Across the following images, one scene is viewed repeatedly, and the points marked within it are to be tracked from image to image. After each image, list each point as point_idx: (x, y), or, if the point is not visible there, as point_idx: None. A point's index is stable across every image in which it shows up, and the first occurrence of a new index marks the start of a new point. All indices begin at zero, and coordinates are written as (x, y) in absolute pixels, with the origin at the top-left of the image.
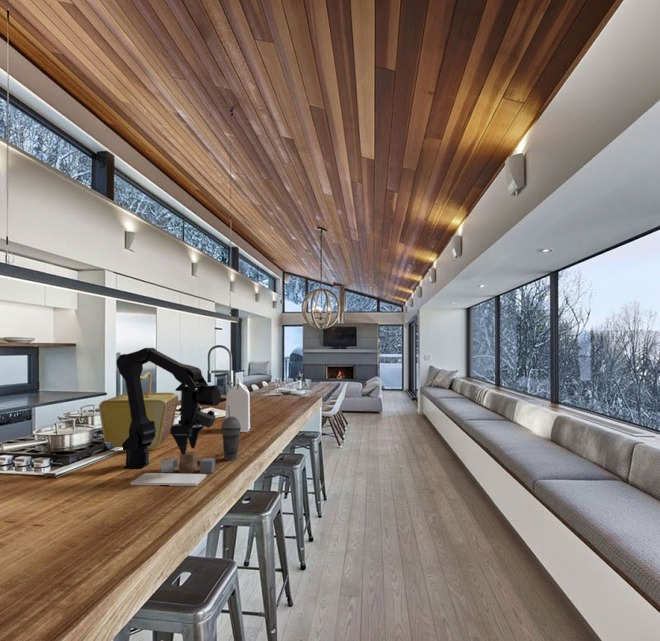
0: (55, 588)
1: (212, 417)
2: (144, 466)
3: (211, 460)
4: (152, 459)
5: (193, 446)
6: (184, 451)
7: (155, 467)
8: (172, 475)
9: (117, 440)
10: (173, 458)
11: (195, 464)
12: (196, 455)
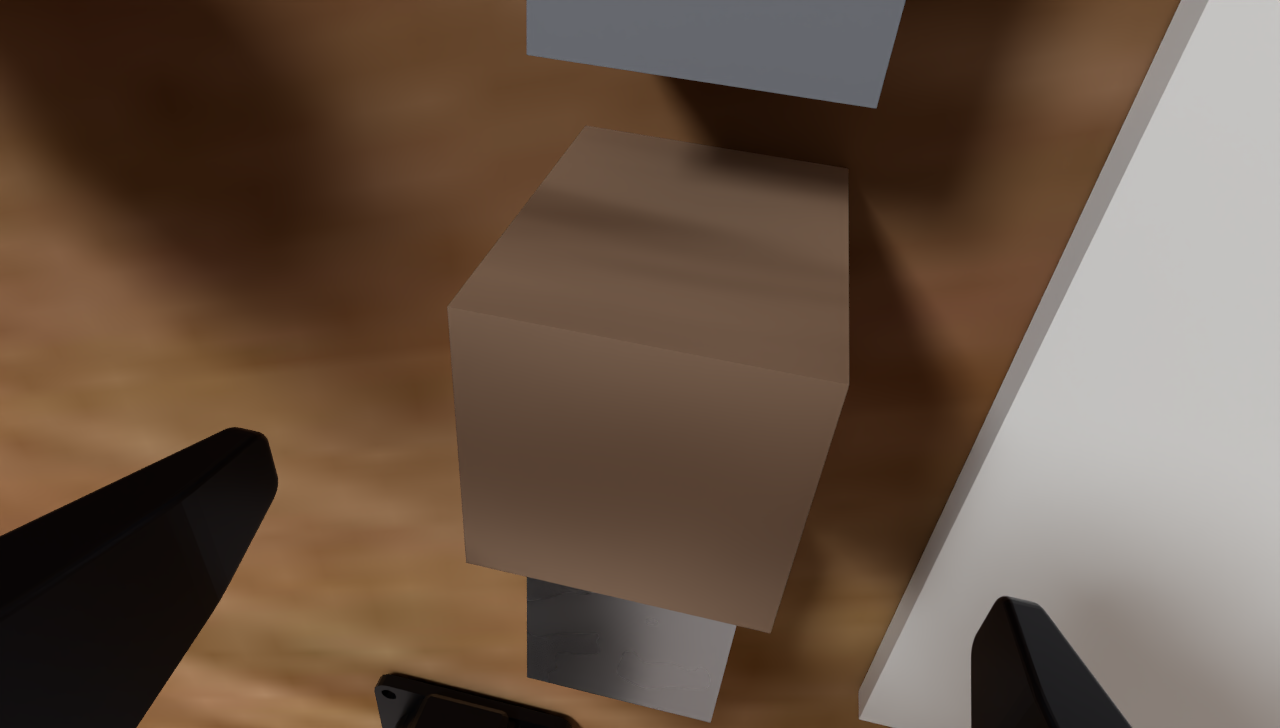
0: None
1: None
2: (504, 703)
3: None
4: (217, 650)
5: (240, 478)
6: (1086, 694)
7: (508, 624)
8: (1119, 470)
9: None
10: (584, 603)
11: (666, 193)
12: (557, 276)
